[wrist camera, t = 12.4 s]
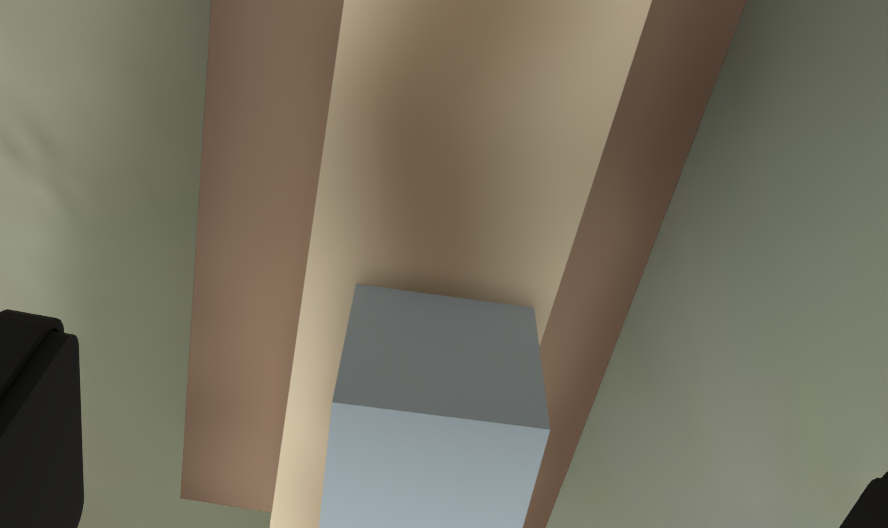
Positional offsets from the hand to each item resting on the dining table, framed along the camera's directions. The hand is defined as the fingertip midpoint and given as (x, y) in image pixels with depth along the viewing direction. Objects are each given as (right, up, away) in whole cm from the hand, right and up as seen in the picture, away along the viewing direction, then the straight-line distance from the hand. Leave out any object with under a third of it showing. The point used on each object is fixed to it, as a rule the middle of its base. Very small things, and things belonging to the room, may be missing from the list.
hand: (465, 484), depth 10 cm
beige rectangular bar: (-1, +4, +12) cm, 13 cm away
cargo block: (-1, 0, +10) cm, 10 cm away
